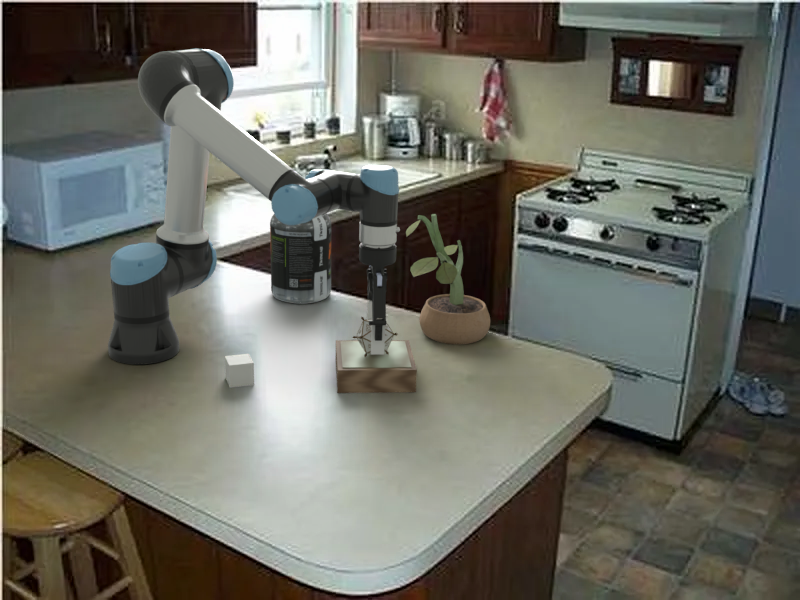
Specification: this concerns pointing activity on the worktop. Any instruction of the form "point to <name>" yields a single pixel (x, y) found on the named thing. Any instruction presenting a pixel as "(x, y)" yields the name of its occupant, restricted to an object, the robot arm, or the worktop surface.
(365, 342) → the game die
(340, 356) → the walnut framed mirror
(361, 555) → the worktop surface
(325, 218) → the supplement tub
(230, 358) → the grey block
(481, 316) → the potted plant
